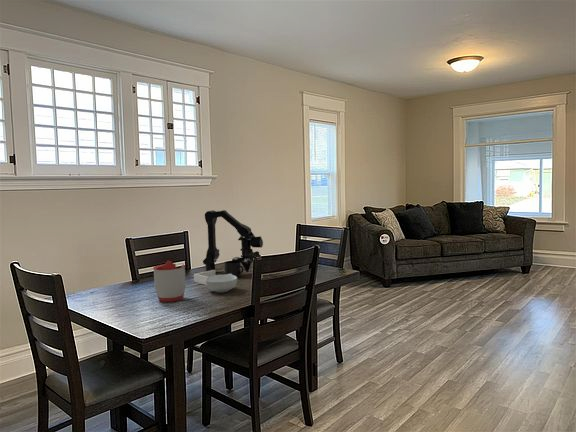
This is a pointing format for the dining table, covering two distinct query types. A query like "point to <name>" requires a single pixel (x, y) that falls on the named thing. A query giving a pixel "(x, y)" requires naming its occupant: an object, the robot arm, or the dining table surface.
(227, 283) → the cereal bowl
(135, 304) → the dining table surface
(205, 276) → the tray
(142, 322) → the dining table surface
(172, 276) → the citrus juicer
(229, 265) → the mug
